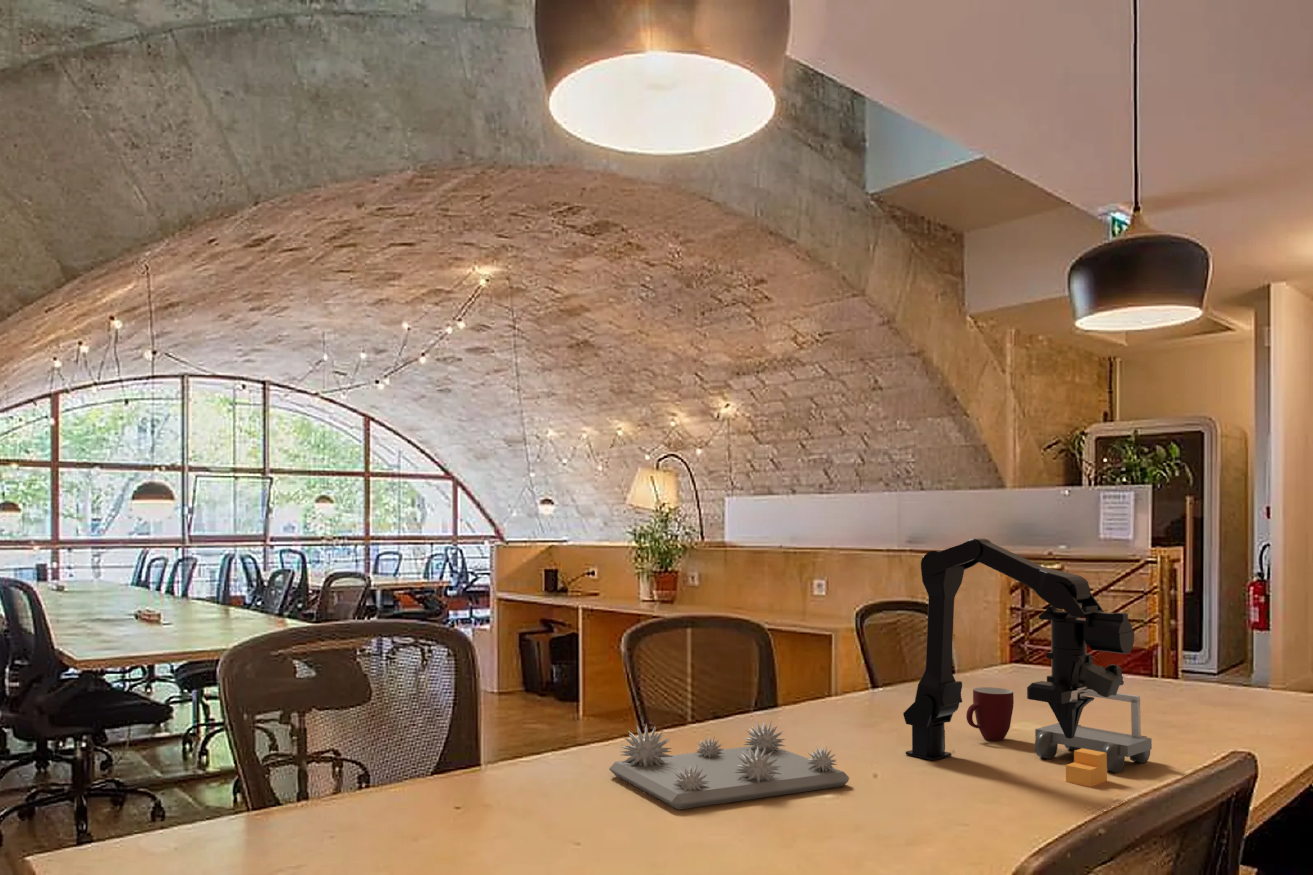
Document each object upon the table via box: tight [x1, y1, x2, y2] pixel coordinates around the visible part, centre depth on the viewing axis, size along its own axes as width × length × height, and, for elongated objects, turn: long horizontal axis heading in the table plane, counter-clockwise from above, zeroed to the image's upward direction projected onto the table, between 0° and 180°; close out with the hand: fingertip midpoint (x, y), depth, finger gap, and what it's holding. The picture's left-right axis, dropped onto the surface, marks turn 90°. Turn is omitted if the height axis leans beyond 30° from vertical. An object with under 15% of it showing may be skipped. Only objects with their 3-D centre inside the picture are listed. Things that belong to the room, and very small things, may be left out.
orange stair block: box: [1065, 748, 1108, 788], centre depth 182 cm, size 6×4×5 cm
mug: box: [965, 686, 1015, 742], centre depth 214 cm, size 10×8×10 cm
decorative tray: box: [609, 720, 850, 811], centre depth 179 cm, size 35×26×10 cm
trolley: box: [1034, 689, 1152, 774], centre depth 197 cm, size 16×18×13 cm
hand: (1069, 738), depth 179 cm, fingers closed
